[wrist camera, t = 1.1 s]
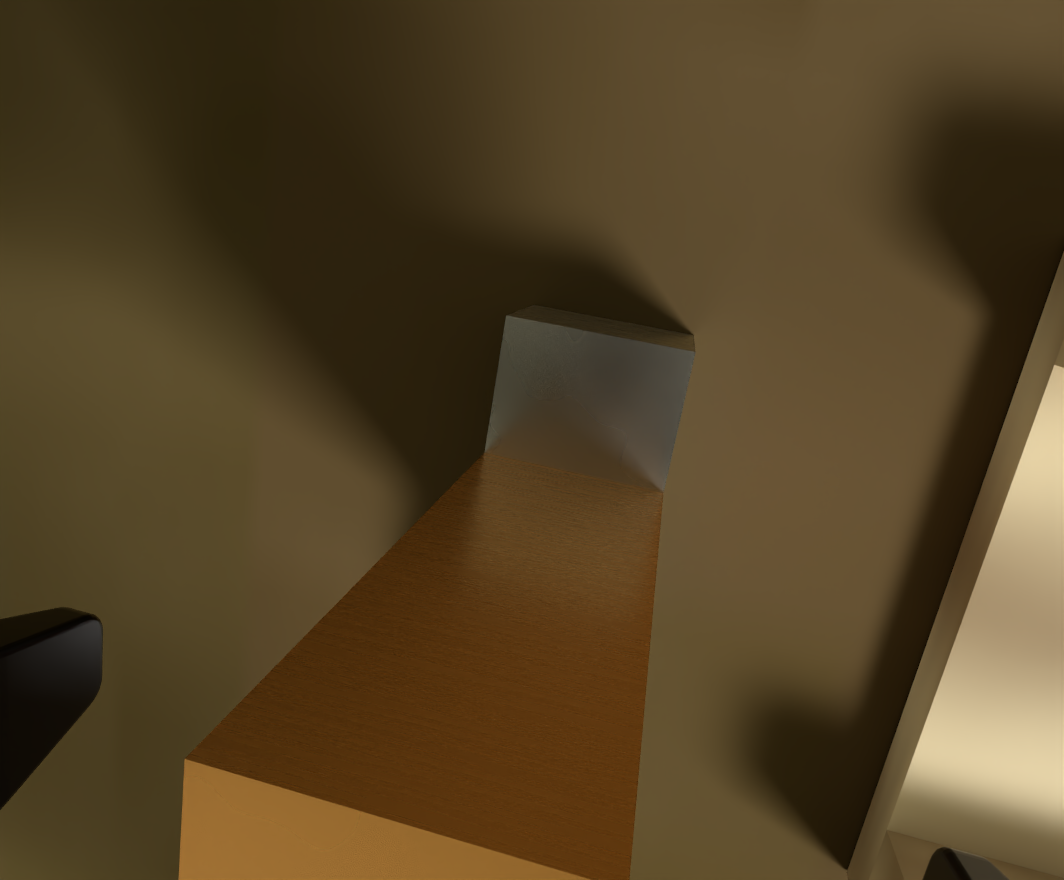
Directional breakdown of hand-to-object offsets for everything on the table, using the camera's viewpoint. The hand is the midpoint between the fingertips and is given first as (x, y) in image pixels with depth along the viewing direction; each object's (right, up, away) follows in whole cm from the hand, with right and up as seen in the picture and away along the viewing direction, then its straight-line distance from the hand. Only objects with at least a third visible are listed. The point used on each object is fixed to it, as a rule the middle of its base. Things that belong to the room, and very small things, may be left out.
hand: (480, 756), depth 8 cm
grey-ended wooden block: (+1, +2, +7) cm, 8 cm away
